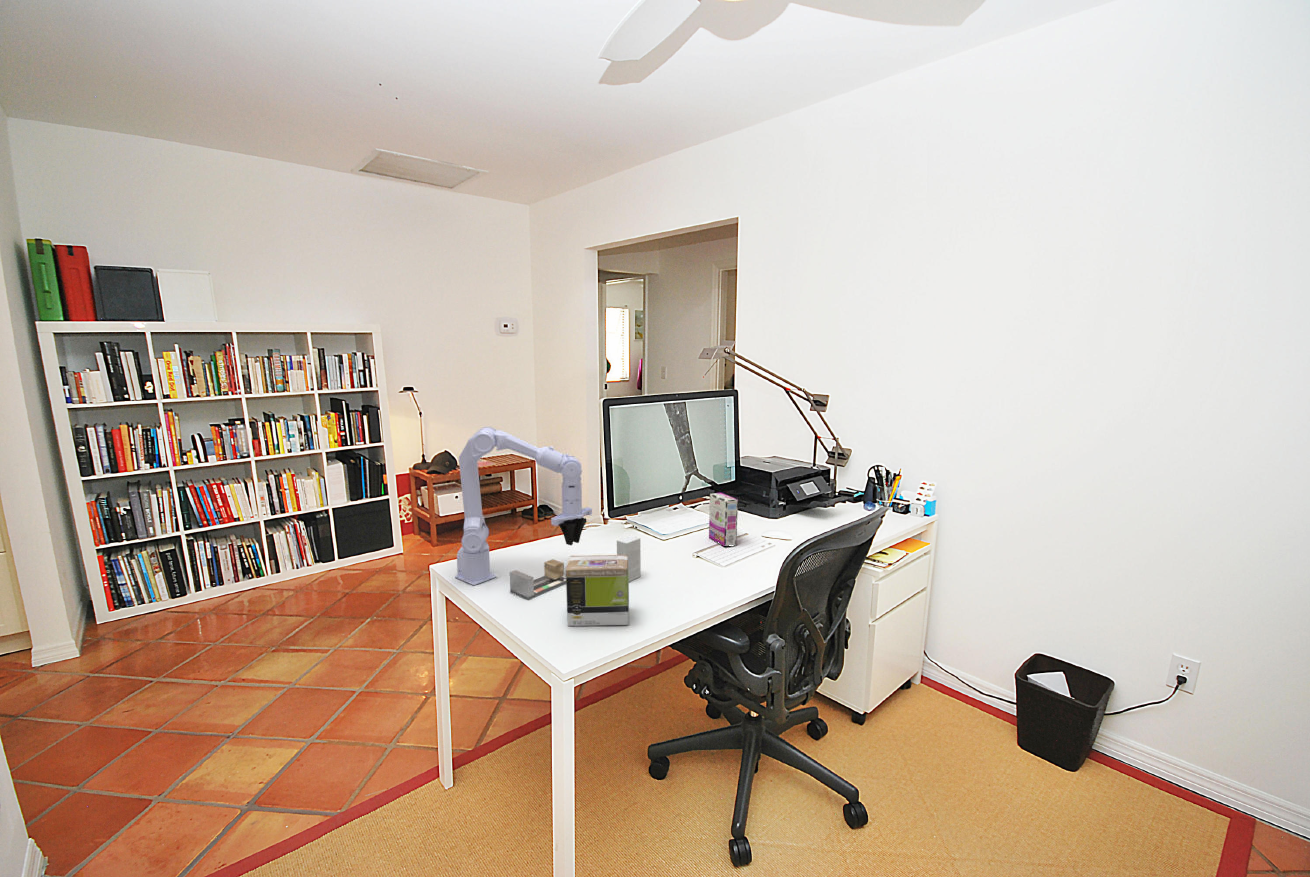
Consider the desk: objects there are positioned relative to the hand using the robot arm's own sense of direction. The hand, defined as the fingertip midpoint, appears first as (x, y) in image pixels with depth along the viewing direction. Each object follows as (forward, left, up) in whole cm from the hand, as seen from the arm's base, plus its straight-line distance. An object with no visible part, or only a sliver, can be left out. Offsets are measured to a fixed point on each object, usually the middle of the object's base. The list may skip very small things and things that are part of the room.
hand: (572, 543), depth 168 cm
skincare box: (+15, +8, -10) cm, 20 cm away
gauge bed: (0, -13, -9) cm, 16 cm away
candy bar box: (+20, +52, -10) cm, 57 cm away
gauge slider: (+1, -7, -8) cm, 11 cm away
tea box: (+25, -15, -10) cm, 31 cm away
